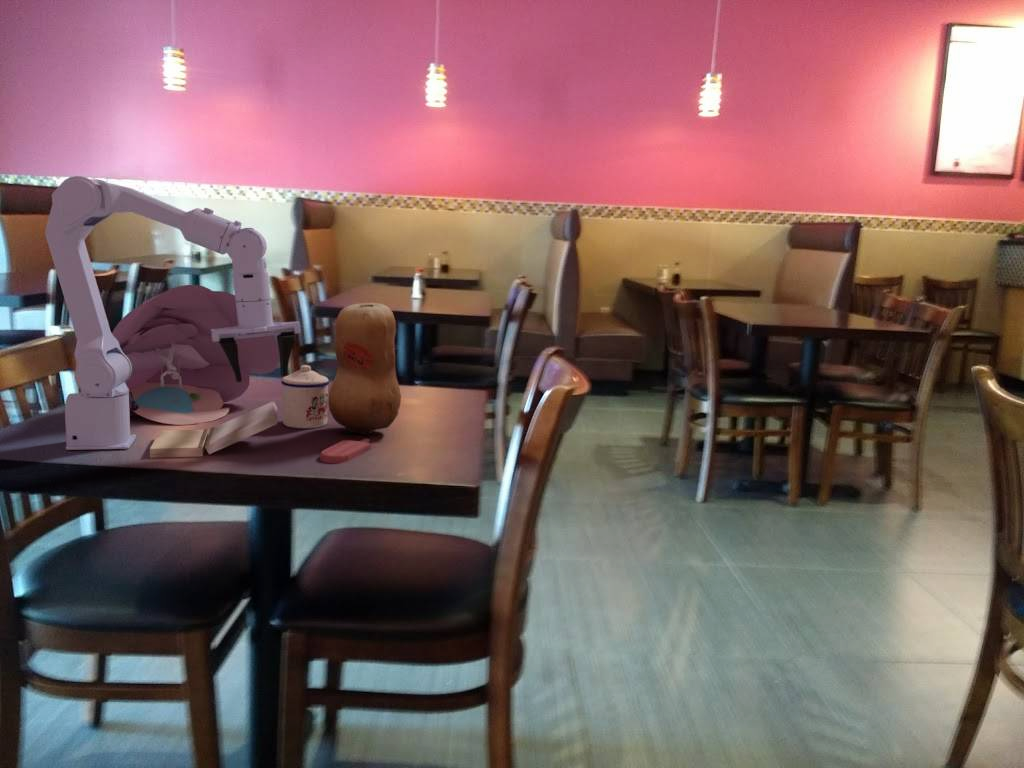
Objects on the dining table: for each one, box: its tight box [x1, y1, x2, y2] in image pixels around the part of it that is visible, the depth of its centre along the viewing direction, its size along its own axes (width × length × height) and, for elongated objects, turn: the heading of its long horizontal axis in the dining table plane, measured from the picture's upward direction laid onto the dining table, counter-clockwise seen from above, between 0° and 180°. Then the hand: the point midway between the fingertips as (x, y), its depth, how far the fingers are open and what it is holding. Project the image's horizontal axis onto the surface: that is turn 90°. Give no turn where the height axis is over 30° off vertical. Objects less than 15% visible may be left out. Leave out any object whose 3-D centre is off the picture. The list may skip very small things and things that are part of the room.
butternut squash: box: [328, 302, 402, 435], centre depth 149 cm, size 14×13×25 cm
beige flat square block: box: [205, 400, 278, 455], centre depth 136 cm, size 12×12×2 cm
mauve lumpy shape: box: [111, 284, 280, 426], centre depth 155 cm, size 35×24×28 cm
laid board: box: [149, 428, 210, 459], centre depth 134 cm, size 8×12×2 cm, turn 17°
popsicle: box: [319, 438, 371, 464], centre depth 137 cm, size 5×2×15 cm
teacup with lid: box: [281, 364, 330, 429], centre depth 155 cm, size 12×9×12 cm
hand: (261, 378), depth 136 cm, fingers open, 7 cm apart
